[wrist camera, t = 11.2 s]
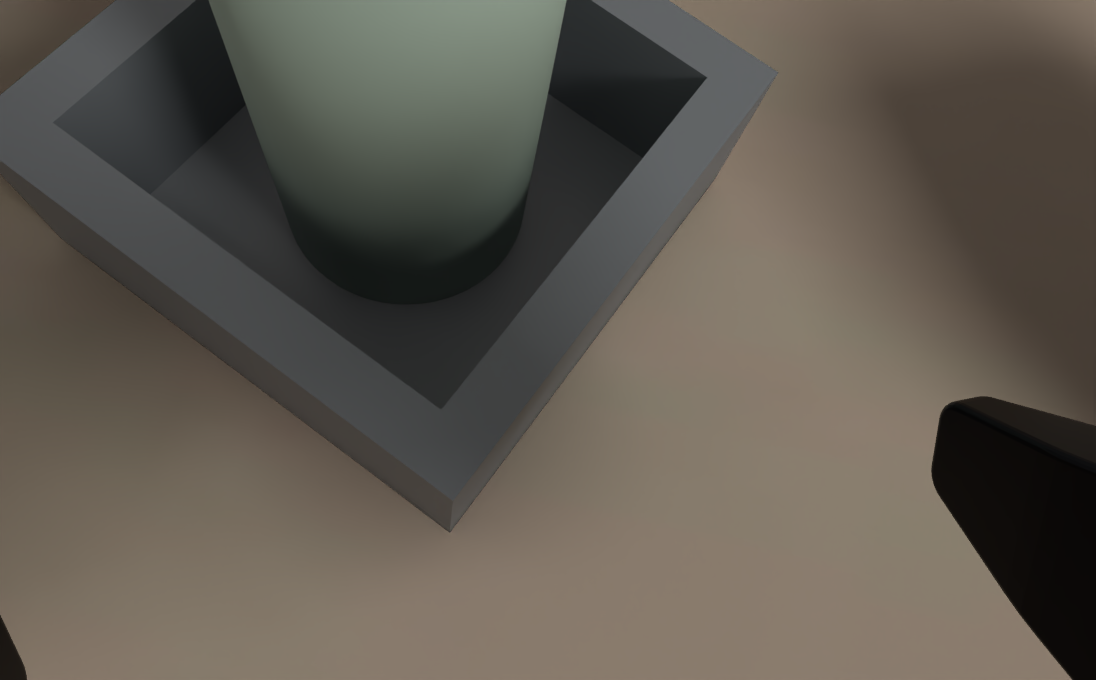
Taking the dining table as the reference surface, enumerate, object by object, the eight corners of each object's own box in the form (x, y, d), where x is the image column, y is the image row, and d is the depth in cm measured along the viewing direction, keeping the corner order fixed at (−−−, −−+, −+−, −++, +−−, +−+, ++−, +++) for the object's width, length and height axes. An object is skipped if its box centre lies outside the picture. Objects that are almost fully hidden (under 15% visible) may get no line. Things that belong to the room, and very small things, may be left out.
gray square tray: (714, 179, 20) (778, 72, 16) (449, 532, 16) (452, 501, 13) (375, -51, 21) (361, -202, 17) (61, 238, 17) (-42, 129, 14)
